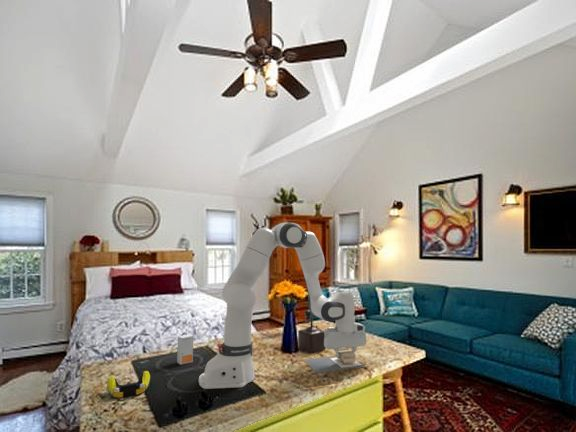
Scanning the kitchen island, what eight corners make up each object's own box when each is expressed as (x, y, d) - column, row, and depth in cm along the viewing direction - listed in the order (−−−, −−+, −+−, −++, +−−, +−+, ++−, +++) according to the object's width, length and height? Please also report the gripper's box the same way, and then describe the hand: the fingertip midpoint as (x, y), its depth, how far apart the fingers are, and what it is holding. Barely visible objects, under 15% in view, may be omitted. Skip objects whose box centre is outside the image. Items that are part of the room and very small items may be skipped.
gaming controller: (106, 390, 132) (106, 401, 123) (107, 375, 133) (106, 385, 124) (149, 383, 139) (151, 393, 130) (149, 369, 139) (152, 378, 130)
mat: (316, 374, 148) (316, 372, 148) (303, 361, 163) (303, 359, 163) (365, 367, 155) (365, 366, 155) (348, 355, 170) (348, 354, 170)
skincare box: (180, 365, 158) (181, 338, 158) (176, 362, 161) (177, 336, 162) (193, 362, 161) (193, 335, 162) (189, 359, 165) (189, 333, 165)
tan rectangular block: (355, 362, 157) (355, 354, 157) (344, 363, 155) (344, 355, 156) (346, 355, 166) (346, 347, 166) (335, 357, 164) (335, 349, 164)
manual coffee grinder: (327, 350, 178) (327, 314, 179) (310, 354, 172) (309, 317, 173) (308, 342, 191) (308, 308, 192) (292, 345, 185) (292, 311, 186)
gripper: (327, 329, 155) (327, 361, 154) (368, 326, 161) (368, 356, 161) (321, 326, 161) (321, 357, 160) (361, 323, 167) (361, 352, 167)
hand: (345, 356), depth 161 cm, fingers closed on tan rectangular block, 5 cm apart
